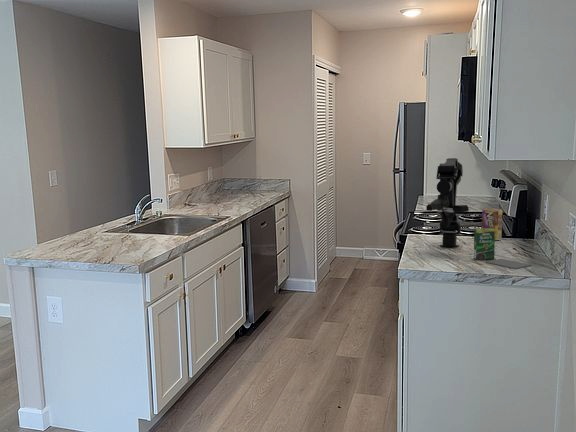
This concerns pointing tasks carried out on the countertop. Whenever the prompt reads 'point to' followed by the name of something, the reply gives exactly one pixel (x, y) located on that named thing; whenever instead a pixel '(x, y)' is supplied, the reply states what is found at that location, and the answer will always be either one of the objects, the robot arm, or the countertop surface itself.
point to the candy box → (492, 221)
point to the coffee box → (484, 243)
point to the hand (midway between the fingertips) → (447, 227)
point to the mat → (508, 263)
